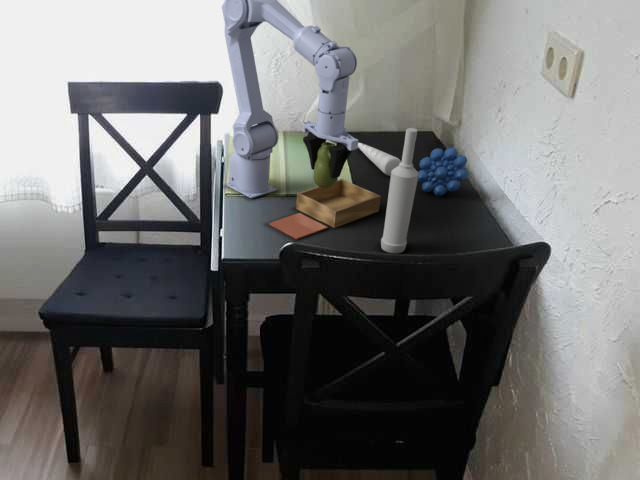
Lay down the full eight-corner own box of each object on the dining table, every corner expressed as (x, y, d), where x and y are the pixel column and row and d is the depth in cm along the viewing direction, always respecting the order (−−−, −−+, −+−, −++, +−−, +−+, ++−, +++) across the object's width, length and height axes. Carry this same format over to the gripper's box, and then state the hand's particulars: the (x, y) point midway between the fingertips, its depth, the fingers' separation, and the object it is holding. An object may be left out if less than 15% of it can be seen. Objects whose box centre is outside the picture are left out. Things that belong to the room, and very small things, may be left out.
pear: (311, 182, 166) (315, 138, 160) (335, 182, 165) (340, 138, 160) (313, 192, 161) (317, 147, 155) (338, 192, 161) (343, 148, 155)
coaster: (268, 224, 164) (268, 223, 163) (299, 214, 168) (299, 212, 168) (296, 239, 158) (296, 238, 157) (327, 228, 162) (327, 226, 162)
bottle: (377, 242, 157) (394, 125, 143) (401, 241, 157) (420, 125, 143) (384, 254, 152) (402, 134, 139) (408, 253, 153) (429, 134, 139)
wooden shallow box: (295, 208, 171) (297, 193, 168) (339, 193, 178) (341, 178, 176) (334, 227, 162) (335, 211, 160) (378, 211, 170) (381, 195, 168)
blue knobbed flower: (467, 194, 178) (477, 145, 171) (459, 204, 173) (469, 154, 167) (419, 184, 183) (427, 136, 176) (410, 193, 178) (418, 145, 172)
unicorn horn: (368, 143, 207) (370, 126, 204) (401, 176, 187) (403, 158, 184) (351, 144, 206) (353, 127, 203) (383, 177, 186) (385, 159, 184)
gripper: (371, 115, 151) (363, 178, 159) (320, 98, 161) (315, 158, 168) (347, 122, 148) (340, 186, 155) (296, 104, 157) (292, 165, 165)
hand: (325, 172), depth 161 cm, fingers closed on pear, 5 cm apart
